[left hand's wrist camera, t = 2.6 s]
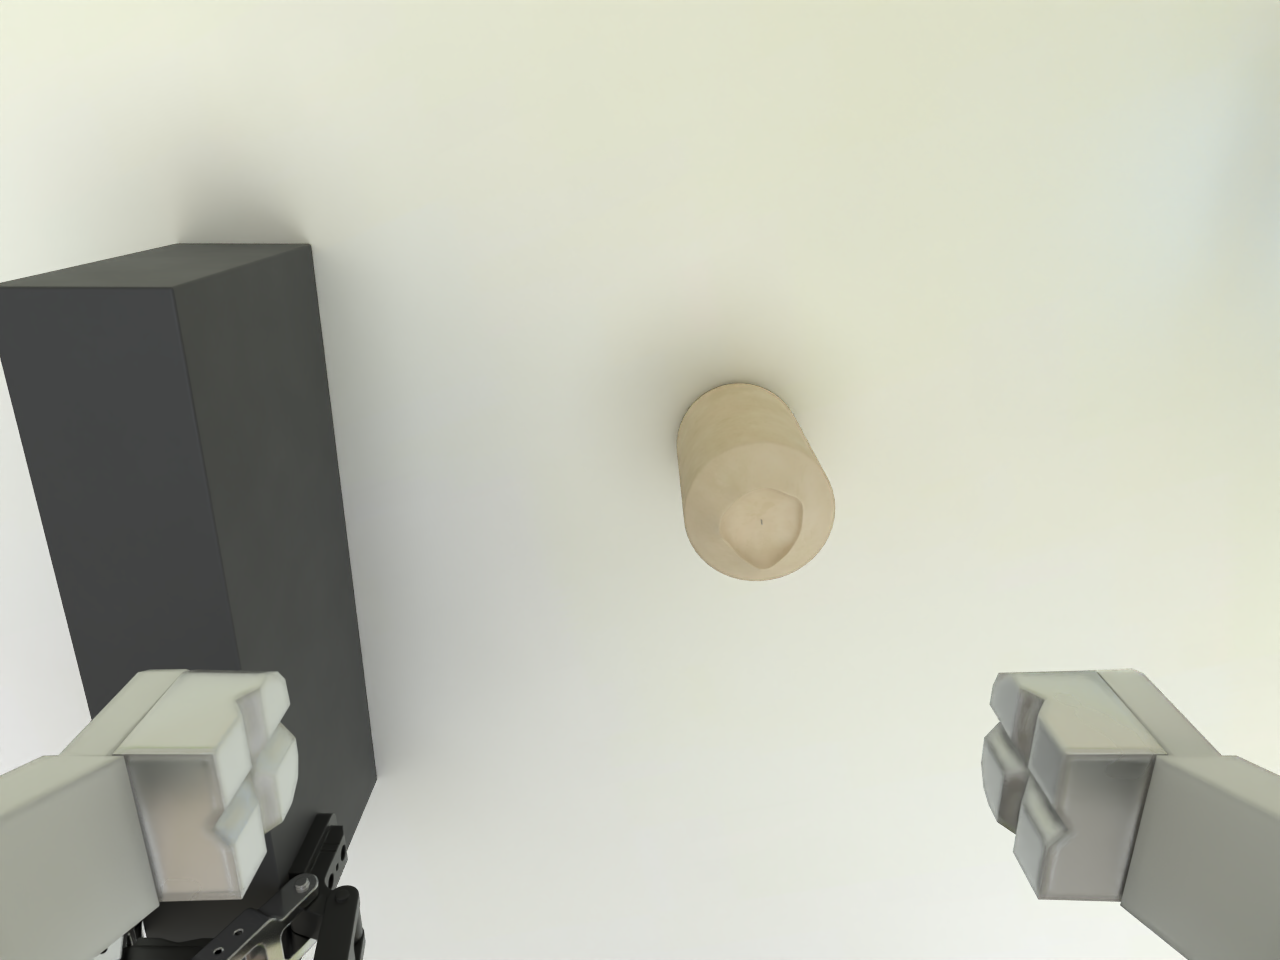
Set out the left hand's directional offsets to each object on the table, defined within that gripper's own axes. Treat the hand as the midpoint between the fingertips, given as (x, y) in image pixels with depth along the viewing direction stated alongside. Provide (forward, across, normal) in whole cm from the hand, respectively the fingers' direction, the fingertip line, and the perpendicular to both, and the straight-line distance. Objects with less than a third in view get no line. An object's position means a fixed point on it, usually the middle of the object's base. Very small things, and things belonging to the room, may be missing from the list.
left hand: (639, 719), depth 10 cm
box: (+30, -17, -12) cm, 37 cm away
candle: (+30, +4, -6) cm, 31 cm away
